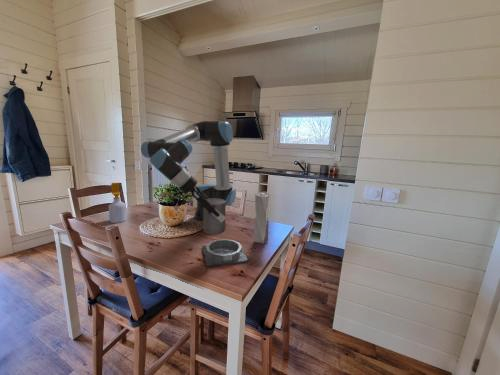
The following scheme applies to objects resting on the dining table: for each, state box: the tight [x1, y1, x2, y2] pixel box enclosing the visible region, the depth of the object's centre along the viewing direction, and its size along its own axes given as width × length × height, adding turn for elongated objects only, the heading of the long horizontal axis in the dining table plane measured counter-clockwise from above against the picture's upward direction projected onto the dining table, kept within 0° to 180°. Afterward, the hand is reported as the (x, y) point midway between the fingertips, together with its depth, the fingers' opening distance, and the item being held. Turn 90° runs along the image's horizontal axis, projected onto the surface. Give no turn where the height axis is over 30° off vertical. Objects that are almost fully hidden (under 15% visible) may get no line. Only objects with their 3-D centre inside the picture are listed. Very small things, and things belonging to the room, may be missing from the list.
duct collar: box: [201, 238, 249, 269], centre depth 98 cm, size 18×18×4 cm
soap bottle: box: [108, 182, 127, 224], centre depth 131 cm, size 9×9×25 cm
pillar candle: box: [203, 198, 227, 235], centre depth 94 cm, size 10×10×15 cm
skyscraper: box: [253, 191, 270, 245], centre depth 112 cm, size 8×8×28 cm
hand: (221, 216), depth 95 cm, fingers closed on pillar candle, 9 cm apart
